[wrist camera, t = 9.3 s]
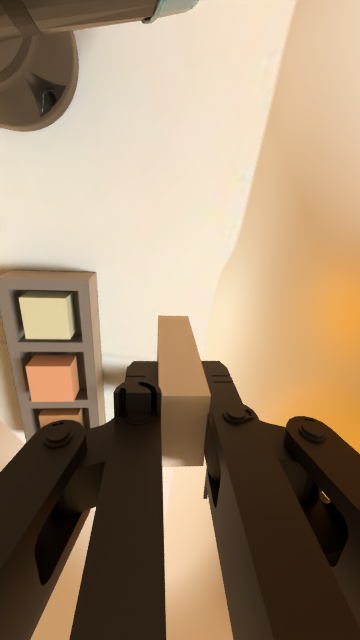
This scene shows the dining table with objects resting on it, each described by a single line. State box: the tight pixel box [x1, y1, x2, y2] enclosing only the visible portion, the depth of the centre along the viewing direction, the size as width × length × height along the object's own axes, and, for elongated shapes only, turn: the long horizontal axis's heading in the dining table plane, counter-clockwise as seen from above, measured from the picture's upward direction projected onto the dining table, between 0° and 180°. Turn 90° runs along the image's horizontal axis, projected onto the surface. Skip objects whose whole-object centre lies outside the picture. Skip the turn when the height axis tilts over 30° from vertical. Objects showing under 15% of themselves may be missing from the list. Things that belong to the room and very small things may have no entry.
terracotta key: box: [26, 355, 79, 402], centre depth 42 cm, size 6×6×3 cm
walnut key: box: [39, 408, 86, 430], centre depth 47 cm, size 6×6×3 cm
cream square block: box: [19, 291, 76, 339], centre depth 40 cm, size 6×6×3 cm
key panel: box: [0, 270, 106, 443], centre depth 45 cm, size 30×12×5 cm, turn 177°
